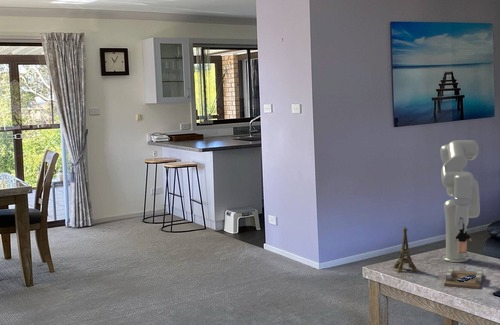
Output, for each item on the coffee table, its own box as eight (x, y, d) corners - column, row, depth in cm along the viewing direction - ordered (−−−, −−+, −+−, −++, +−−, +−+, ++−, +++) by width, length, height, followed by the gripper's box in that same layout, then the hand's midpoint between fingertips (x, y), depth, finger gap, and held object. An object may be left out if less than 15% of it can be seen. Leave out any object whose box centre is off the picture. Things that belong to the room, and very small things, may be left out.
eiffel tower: (397, 272, 312) (396, 222, 309) (392, 266, 323) (391, 218, 320) (419, 271, 312) (418, 221, 309) (413, 266, 323) (412, 217, 320)
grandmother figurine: (456, 254, 292) (456, 227, 290) (453, 252, 296) (453, 225, 294) (473, 253, 293) (472, 226, 291) (469, 250, 296) (469, 224, 295)
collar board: (450, 272, 308) (450, 265, 308) (483, 275, 302) (483, 267, 302) (444, 285, 289) (444, 278, 288) (479, 288, 282) (479, 281, 282)
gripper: (456, 197, 300) (456, 236, 303) (451, 204, 286) (451, 244, 288) (473, 198, 297) (473, 237, 299) (469, 204, 283) (469, 245, 285)
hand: (462, 240), depth 294 cm, fingers closed on grandmother figurine, 3 cm apart
